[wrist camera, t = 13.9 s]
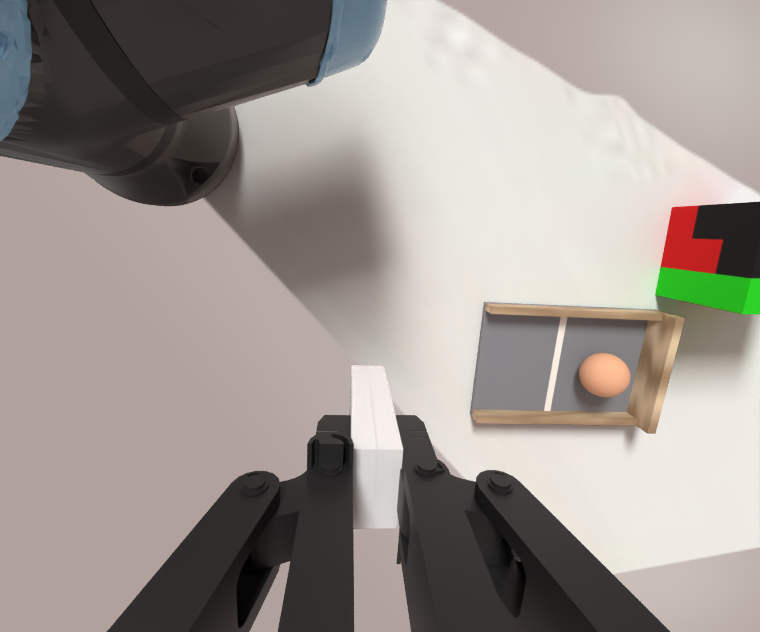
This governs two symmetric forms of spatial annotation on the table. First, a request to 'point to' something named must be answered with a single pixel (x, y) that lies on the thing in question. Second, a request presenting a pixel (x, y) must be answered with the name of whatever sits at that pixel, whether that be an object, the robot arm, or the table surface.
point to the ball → (604, 375)
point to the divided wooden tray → (647, 380)
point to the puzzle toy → (713, 257)
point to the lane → (550, 361)
